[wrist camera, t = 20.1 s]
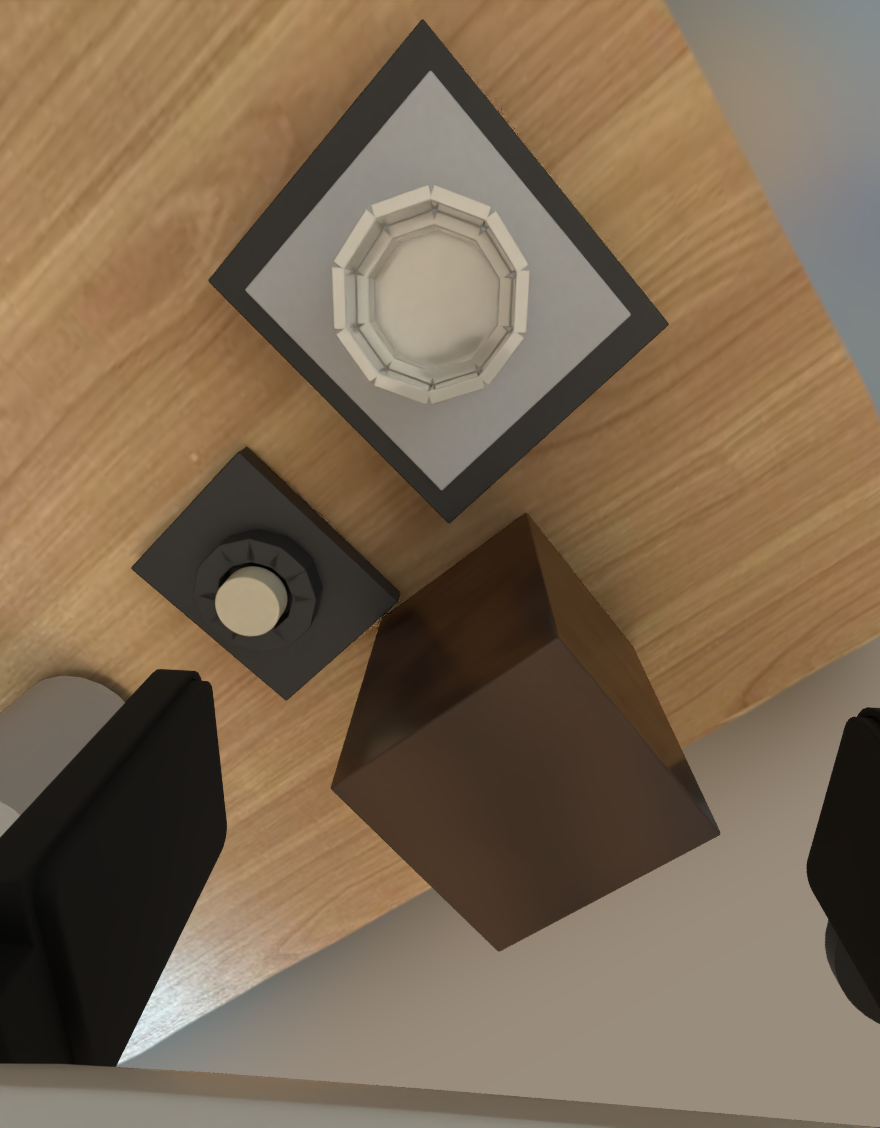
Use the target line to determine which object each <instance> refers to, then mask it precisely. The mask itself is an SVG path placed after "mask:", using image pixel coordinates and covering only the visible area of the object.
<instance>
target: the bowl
mask: <svg viewBox="0 0 880 1128" xmlns="http://www.w3.org/2000/svg"><path fill="white" fill-rule="evenodd" d="M433 209H436V210H438V211H436V213H435V215H434V213H433V211H430V210H433ZM371 210H372V212H371V211H369V210H368V209H365V210H364V212H363V214H362V215H361V217H360V218H359V220H358V222H357V223H356V225H355V226H354V228H353V230H352V231H351V233H350V234H349V236H348V238H347V239H346V241H345V242H344V244H343V246H342V247H341V249H340V250H339V252H338V254H337V255H336V257H335V258H334V260H333V262H334V263H335V264H336V265H337V266H338V267H332V268H331V277H332V303H333V328H334V329H335V330H340V331H339V332H338V333H336V336H337V338H338V339H339V341H340V342H341V343H342V345H343V346H344V348H345V349H346V350H347V352H348V353H349V355H350V356H351V357H352V359H353V360H354V362H355V363H356V364H357V366H358V367H359V369H360V370H361V372H362V373H363V374H364V376H365V377H366V379H367V380H368V381H369V382H372V381H373V380H375V382H374V386H375V387H378V388H380V389H383V390H386V391H389V392H392V393H395V394H397V395H400V396H403V397H406V398H409V399H411V400H414V401H417V402H420V403H423V404H427V403H428V401H429V400H430V403H431V404H436V403H439V402H442V401H446V400H449V399H452V398H455V397H459V396H462V395H465V394H468V393H472V392H475V391H478V390H481V389H484V383H486V384H487V385H490V383H491V382H492V381H493V379H494V378H495V377H496V375H497V374H498V373H499V371H500V370H501V369H502V368H503V366H504V365H505V364H506V362H507V361H508V360H509V358H510V357H511V356H512V354H513V353H514V352H515V350H516V349H517V348H518V346H519V345H520V344H521V343H522V341H523V340H524V337H523V336H522V335H521V334H519V333H526V332H527V319H528V302H529V285H530V270H523V269H524V268H526V267H527V266H528V262H527V260H526V259H525V257H524V255H523V254H522V252H521V250H520V249H519V247H518V245H517V244H516V242H515V240H514V239H513V237H512V235H511V234H510V232H509V230H508V229H507V227H506V225H505V224H504V222H503V220H502V219H501V217H500V215H499V214H498V212H497V211H496V210H495V211H493V212H492V213H491V206H490V205H488V204H485V203H483V202H480V201H477V200H475V199H472V198H470V197H467V196H464V195H462V194H459V193H457V192H454V191H451V190H449V189H446V188H443V187H441V186H438V185H436V184H434V185H433V187H432V190H431V189H430V187H429V185H428V184H426V185H423V186H421V187H418V188H415V189H412V190H409V191H407V192H404V193H401V194H398V195H396V196H393V197H390V198H387V199H384V200H382V201H379V202H376V203H373V204H371ZM427 211H429V212H427ZM440 211H441V212H440ZM424 212H426V213H424ZM443 212H444V213H443ZM421 213H423V214H421ZM445 213H446V214H445ZM419 214H420V215H419ZM448 214H449V215H448ZM416 215H417V216H416ZM450 215H452V216H450ZM413 216H415V217H413ZM453 216H454V217H453ZM410 217H412V218H410ZM456 217H457V218H456ZM407 218H409V219H407ZM458 218H459V219H458ZM404 219H406V220H404ZM461 219H462V220H461ZM402 220H403V221H402ZM464 220H465V221H464ZM399 221H400V222H399ZM466 221H467V222H466ZM396 222H398V223H396ZM469 222H470V223H469ZM393 223H395V224H393ZM472 223H473V224H472ZM390 224H392V225H390ZM474 224H475V225H474ZM387 225H389V226H388V227H387V229H388V232H389V233H388V232H387V231H386V230H383V228H384V227H385V226H387ZM477 225H478V226H477ZM479 226H481V227H483V228H484V229H485V230H486V231H483V232H482V233H481V230H482V228H481V227H479ZM382 230H383V231H382ZM381 231H382V232H381ZM380 233H381V234H380ZM487 233H488V234H487ZM379 234H380V235H379ZM378 236H379V237H378ZM377 237H378V238H377ZM490 238H491V239H490ZM376 239H377V240H376ZM375 240H376V242H375ZM374 242H375V243H374ZM493 243H494V244H493ZM373 244H374V245H373ZM372 245H373V246H372ZM371 247H372V248H371ZM370 248H371V249H370ZM496 248H497V249H496ZM369 250H370V251H369ZM368 251H369V252H368ZM498 251H499V252H498ZM367 253H368V254H367ZM366 255H367V256H366ZM365 256H366V257H365ZM501 256H502V257H501ZM364 258H365V259H364ZM363 259H364V260H363ZM362 261H363V262H362ZM504 261H505V262H504ZM361 262H362V263H361ZM360 264H361V265H360ZM506 264H507V265H506ZM359 265H360V266H359ZM507 266H508V267H507ZM358 267H359V268H358ZM357 269H358V270H357ZM509 269H510V270H509ZM356 270H357V271H358V272H359V273H360V274H362V275H356V286H355V272H356ZM511 273H512V274H513V279H512V277H508V276H509V275H510V274H511ZM511 296H512V299H511ZM356 304H357V323H356ZM510 315H511V318H510ZM357 324H363V325H362V326H360V327H359V329H358V328H357ZM504 327H510V330H509V331H508V330H507V329H506V328H504ZM359 330H360V331H361V332H360V331H359ZM507 332H508V333H507ZM361 333H362V334H363V335H362V334H361ZM504 336H505V337H504ZM364 337H365V338H366V339H365V338H364ZM366 340H367V341H368V342H367V341H366ZM501 340H502V341H501ZM368 343H369V344H370V345H369V344H368ZM498 344H499V345H498ZM371 347H372V348H373V349H372V348H371ZM495 348H496V349H495ZM373 350H374V351H375V352H374V351H373ZM492 352H493V353H492ZM375 353H376V354H377V355H376V354H375ZM489 356H490V357H489ZM378 357H379V358H380V359H379V358H378ZM380 360H381V361H382V362H381V361H380ZM486 360H487V361H486ZM382 363H383V364H384V365H383V364H382ZM389 364H390V365H389ZM483 364H484V365H483ZM388 365H389V369H390V370H388V369H386V368H385V366H388ZM477 367H478V368H481V369H480V370H479V371H477ZM391 370H392V371H391ZM394 371H395V372H394ZM476 371H477V372H476ZM397 372H398V373H397ZM399 373H400V374H399ZM469 373H470V374H469ZM402 374H403V375H402ZM466 374H467V375H466ZM405 375H406V376H405ZM463 375H464V376H463ZM408 376H409V377H408ZM460 376H461V377H460ZM410 377H411V378H410ZM413 378H414V379H413ZM453 378H454V379H453ZM416 379H417V380H416ZM450 379H451V380H450ZM419 380H420V381H419ZM447 380H448V381H447ZM422 381H423V382H422ZM432 381H433V382H434V384H435V385H430V384H431V382H432ZM444 381H445V382H444ZM424 382H425V383H424ZM427 383H428V384H427ZM437 383H438V384H437Z"/></svg>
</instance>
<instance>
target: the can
mask: <svg viewBox="0 0 880 1128" xmlns="http://www.w3.org/2000/svg"><path fill="white" fill-rule="evenodd" d="M124 703H125V702H124V701H123V700H122V699H121V698H120V697H119V696H118V695H117V694H115V693H114V692H112V691H111V690H109V689H108V688H106V687H105V686H103V685H102V684H99V683H96V682H94V681H91V680H88V679H85V678H82V677H72V676H57V677H53V678H48V679H44V680H42V681H40V682H38V683H37V684H35V685H34V686H32V687H31V688H29V689H28V690H27V691H25V692H24V693H23V694H22V695H21V696H20V697H18V698H17V699H16V700H15V701H14V702H13V703H11V704H10V705H9V706H8V707H7V708H6V709H4V710H3V711H2V712H1V713H0V837H1V836H2V835H3V834H4V832H5V831H6V830H7V829H8V828H9V827H10V826H11V825H12V824H13V823H14V822H15V821H16V820H17V818H18V817H19V816H20V815H21V814H22V813H23V812H24V811H25V810H26V809H27V808H28V807H29V806H30V804H31V803H32V802H33V801H34V800H35V799H36V798H37V797H38V796H39V795H40V794H41V793H42V792H43V790H44V789H45V788H46V787H47V786H48V785H49V784H50V783H51V782H52V781H53V780H54V779H55V778H56V777H57V775H58V774H59V773H60V772H61V771H62V770H63V769H64V768H65V767H66V766H67V765H68V764H69V763H70V761H71V760H72V759H73V758H74V757H75V756H76V755H77V754H78V753H79V752H80V751H81V750H82V749H83V747H84V746H85V745H86V744H87V743H88V742H89V741H90V740H91V739H92V738H93V737H94V736H95V735H96V733H97V732H98V731H99V730H100V729H101V728H102V727H103V726H104V725H105V724H106V723H107V722H108V721H109V719H110V718H111V717H112V716H113V715H114V714H115V713H116V712H117V711H118V710H119V709H120V708H121V707H122V705H123V704H124Z"/></svg>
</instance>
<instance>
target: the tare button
mask: <svg viewBox="0 0 880 1128" xmlns="http://www.w3.org/2000/svg"><path fill="white" fill-rule="evenodd" d="M286 605H287V592H286V589H285V586H284V584H283V583H282V581H281V580H280V579H279V578H278V577H277V576H276V575H275V574H274V573H273V572H271V571H269V570H267V569H265V568H262V567H256V566H249V567H244V568H241V569H239V570H237V571H235V572H234V573H233V574H232V575H231V576H230V577H229V578H228V579H227V580H226V581H225V582H224V584H223V585H222V586H221V587H220V588H219V590H218V592H217V594H216V598H215V607H216V611H217V614H218V616H219V618H220V620H221V621H222V623H223V624H224V625H225V626H226V627H227V628H229V629H230V630H232V631H233V632H235V633H237V634H240V635H244V636H259V635H262V634H265V633H267V632H268V631H270V630H271V629H272V628H273V627H274V626H275V625H276V623H277V622H278V620H279V618H280V617H281V615H282V614H283V612H284V610H285V608H286Z"/></svg>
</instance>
